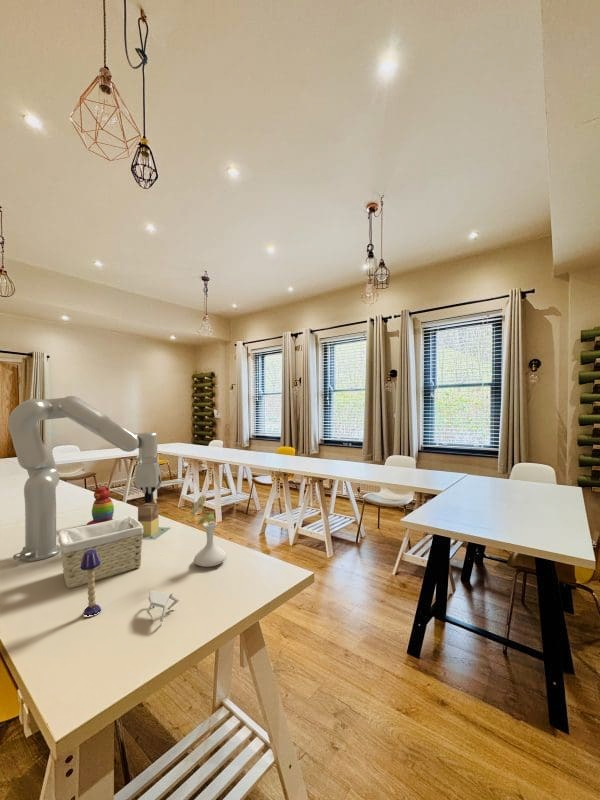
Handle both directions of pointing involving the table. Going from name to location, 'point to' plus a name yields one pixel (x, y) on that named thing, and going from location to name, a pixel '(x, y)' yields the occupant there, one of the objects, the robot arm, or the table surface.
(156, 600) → the white legged frame
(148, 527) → the mustard cube
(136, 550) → the storage basket
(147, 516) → the walnut cube
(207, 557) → the flower in vase
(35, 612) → the table surface
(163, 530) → the baseplate
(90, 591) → the toy lamp
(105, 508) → the stacking bear
